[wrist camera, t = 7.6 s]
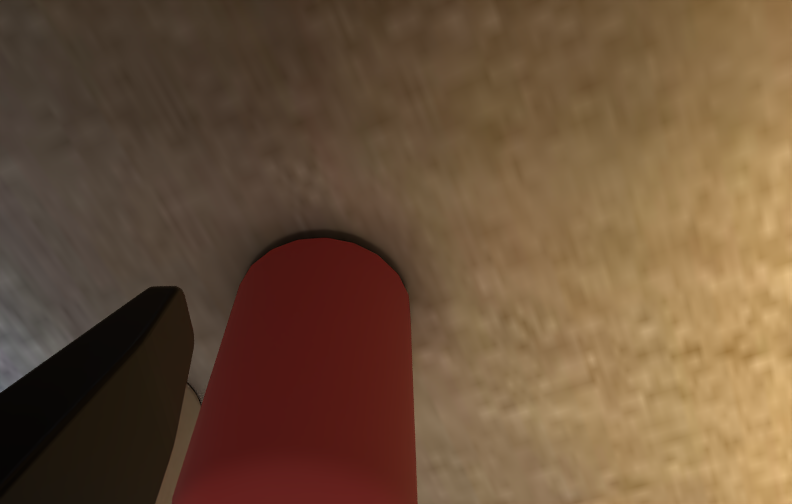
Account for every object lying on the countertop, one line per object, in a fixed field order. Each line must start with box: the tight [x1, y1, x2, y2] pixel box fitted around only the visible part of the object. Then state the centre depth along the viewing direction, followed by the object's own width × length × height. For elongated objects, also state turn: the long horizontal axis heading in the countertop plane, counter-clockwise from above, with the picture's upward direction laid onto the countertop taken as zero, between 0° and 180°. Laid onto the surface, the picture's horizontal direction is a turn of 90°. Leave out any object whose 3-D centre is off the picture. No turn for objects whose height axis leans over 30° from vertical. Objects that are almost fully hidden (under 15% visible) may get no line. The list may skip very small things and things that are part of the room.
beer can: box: [172, 238, 418, 504], centre depth 21 cm, size 7×7×12 cm
